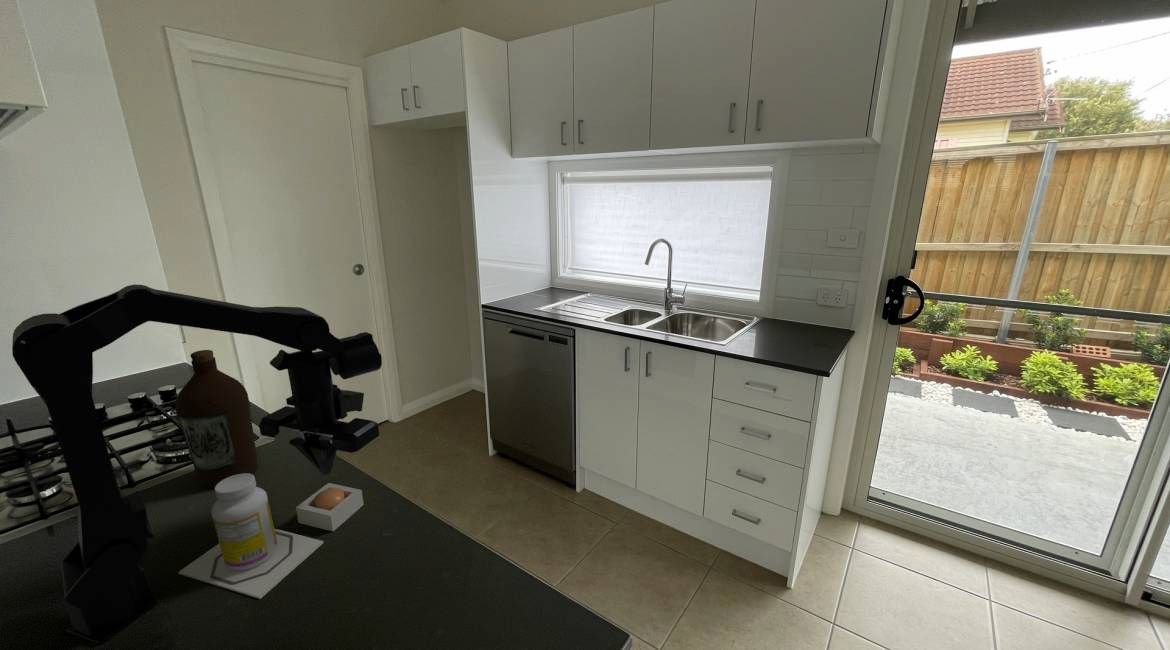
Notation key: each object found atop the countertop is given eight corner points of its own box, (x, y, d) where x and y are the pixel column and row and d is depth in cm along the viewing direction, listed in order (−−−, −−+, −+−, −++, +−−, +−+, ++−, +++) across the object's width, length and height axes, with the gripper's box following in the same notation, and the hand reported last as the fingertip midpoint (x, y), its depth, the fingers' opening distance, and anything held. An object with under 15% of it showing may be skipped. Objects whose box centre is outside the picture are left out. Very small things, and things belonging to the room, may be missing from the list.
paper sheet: (260, 599, 64) (259, 596, 64) (178, 573, 68) (178, 571, 68) (323, 542, 74) (323, 540, 74) (249, 523, 78) (249, 521, 78)
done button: (331, 519, 78) (329, 506, 77) (310, 514, 79) (308, 501, 78) (351, 502, 82) (349, 490, 81) (330, 498, 83) (328, 485, 83)
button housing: (333, 531, 77) (330, 515, 76) (298, 522, 79) (295, 507, 78) (363, 504, 83) (361, 490, 82) (331, 497, 85) (328, 482, 84)
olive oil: (212, 462, 95) (183, 344, 88) (271, 456, 98) (248, 341, 90) (182, 494, 85) (147, 365, 78) (248, 486, 88) (221, 360, 81)
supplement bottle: (249, 538, 75) (233, 467, 71) (288, 541, 74) (273, 470, 70) (213, 571, 68) (193, 495, 65) (255, 575, 68) (237, 498, 64)
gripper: (396, 375, 79) (405, 457, 84) (306, 363, 84) (319, 440, 89) (347, 403, 69) (360, 494, 74) (248, 387, 74) (266, 474, 78)
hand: (326, 473), depth 79 cm, fingers closed
